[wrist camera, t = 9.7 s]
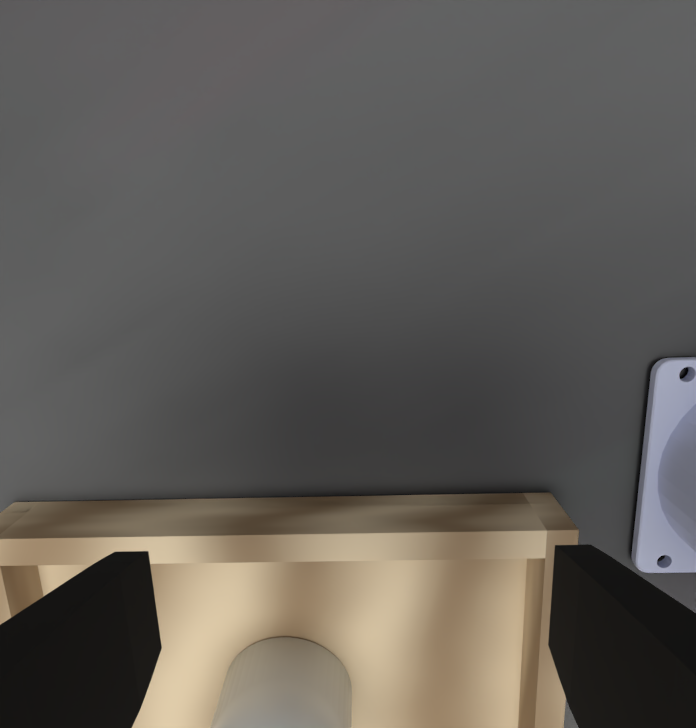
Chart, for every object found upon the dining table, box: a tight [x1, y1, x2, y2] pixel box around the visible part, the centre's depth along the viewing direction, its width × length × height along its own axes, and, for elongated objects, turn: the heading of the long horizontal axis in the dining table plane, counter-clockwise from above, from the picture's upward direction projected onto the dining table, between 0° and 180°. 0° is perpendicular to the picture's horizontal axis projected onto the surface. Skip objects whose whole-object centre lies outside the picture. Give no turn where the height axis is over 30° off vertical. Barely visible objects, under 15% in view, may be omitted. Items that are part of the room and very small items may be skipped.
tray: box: [0, 493, 579, 728], centre depth 20 cm, size 20×16×2 cm
